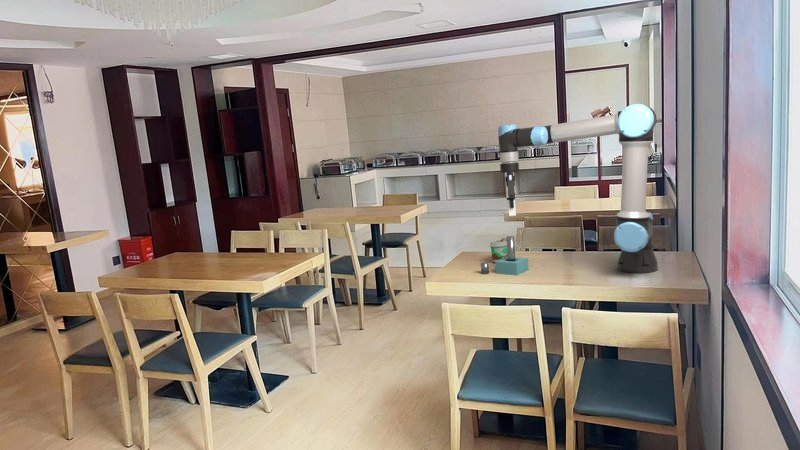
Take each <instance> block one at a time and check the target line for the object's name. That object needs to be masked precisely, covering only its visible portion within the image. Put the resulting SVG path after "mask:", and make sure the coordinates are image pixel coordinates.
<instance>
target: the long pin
mask: <svg viewBox="0 0 800 450" xmlns="http://www.w3.org/2000/svg"><path fill="white" fill-rule="evenodd" d="M506 238H507V254H508V261H513V262H514V261H516V260H515V257H516V244H515V243H516V242H515V236H514V235H509V236H506Z"/></svg>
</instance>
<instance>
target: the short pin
mask: <svg viewBox="0 0 800 450" xmlns="http://www.w3.org/2000/svg"><path fill="white" fill-rule="evenodd" d="M489 264H490V263H489V262H486V261H484V262H481V263H480V269H481V270H480V271H481V272H480V273H481V274H482V275H489V274H490V265H489Z"/></svg>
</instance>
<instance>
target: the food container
mask: <svg viewBox="0 0 800 450" xmlns="http://www.w3.org/2000/svg"><path fill="white" fill-rule="evenodd" d="M489 245H490V246H489V247H490V250H491V251H490V252H491V258H492V259H491V261H492V264H495V261H498V260H500V259H503V258H505V257H508V254H507V237H501V239H500V240H496V241H491V242H490V244H489Z"/></svg>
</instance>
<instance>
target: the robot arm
mask: <svg viewBox="0 0 800 450" xmlns="http://www.w3.org/2000/svg"><path fill="white" fill-rule="evenodd" d="M656 124H657V113H656V112H655V111H654V109H653V108H652V107H650V106H649V105H646V104H643V103H636V104H635V103H634V104H630V105H628V106H626V107H625V108H624V109H622V110H620V111H617V112H616V113H615V114H611V115H605V116H599V117H597V116H596V117H592V118H587V119H579V120H574V121H568V122H567V121H566V122H562V123H557V124H549V125H543V126H534V127H533V126H531V127H522V128H518V125H517V124H515V123H513V124H502V125H499V126H498V127H497V129H498V135H497V138H498V147H499V149H498V151H499V154H498V155H497V157H498V158H499V163H500V164H499V165H500V166H499V169H500V173H503V174H505V173H506V176H504V177H505V184H506V187H507V197H506V201H507V204H508V205H507V206H508V207H507V208H508V216H509V217H514V216H515V217H516V216H517V209H516V195H517V194H516V192H515V185H516V182H515V181H516V175H514V173H517V172H519V171H520V165H519V159H520V158H519V150H518V149H519V148H523V147H524V148H525V147H528V148H529V147H540V146H546V145H549V144H554V143H555V144H556V143H562V142H567V141H568V142H569V141H575V140H585V139H590V138H596V137H603V136H605V137H606V136H612V135H618V143H619V144H620V145H621V146H622V166H621V167H622V168H621V169H622V170H621V191H620V192H621V194H620V195H621V198H620V210H619V212H617V213H616V217H615V229H614V232H613V241H614V243H615V245H616V246H617V247H618V248H620V249H621V251H620V252H619V253H620V254H619V257H618V260H617V269H618V270H619V271H620V272H624V273H625V272H626V273H633V274H643V273H645V274H646V273H652V272H656V271H658V270H659V263H658V260H657V257H656V254H655V252H654V239H653V238H654V234H653V233H654V230H653V229H654V227H653V225H654V223H653V221H654V217H653V214H652V213H651V212H648V211H647V210H646V209H647V208H646V205H647V204H646V203H647V188H648V187H647V186H648V185H647V184H648V183H647V182H648V165H649V164H648V163H649V162H648V161H649V146H650V145H651V144H652V143H653V142H654V131H655V130H654V129H655V126H656Z"/></svg>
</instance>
